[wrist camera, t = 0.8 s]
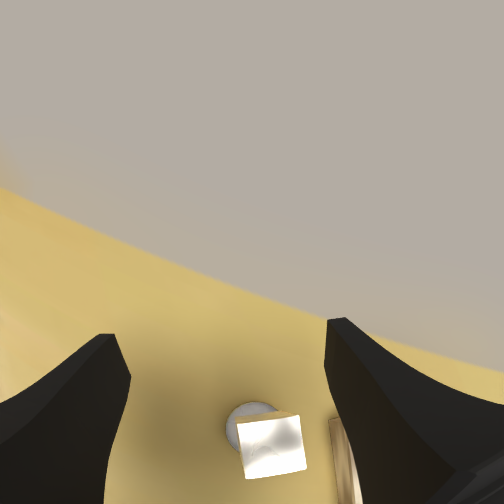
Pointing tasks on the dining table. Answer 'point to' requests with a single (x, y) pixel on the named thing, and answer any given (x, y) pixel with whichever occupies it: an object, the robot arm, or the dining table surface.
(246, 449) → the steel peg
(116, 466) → the dining table surface
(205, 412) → the dining table surface
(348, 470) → the beige wooden frame
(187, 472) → the dining table surface
